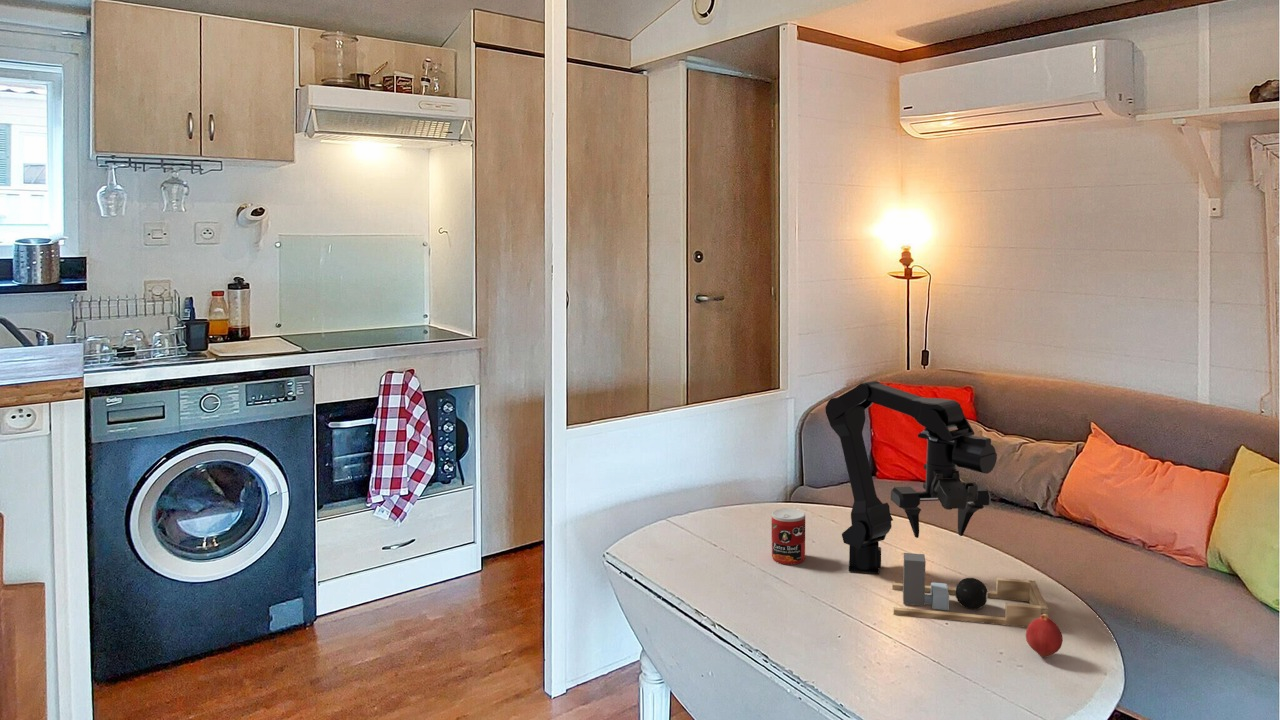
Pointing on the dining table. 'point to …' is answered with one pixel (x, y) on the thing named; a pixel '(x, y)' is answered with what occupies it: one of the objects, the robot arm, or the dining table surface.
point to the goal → (1023, 592)
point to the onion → (1044, 636)
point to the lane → (947, 614)
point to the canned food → (788, 536)
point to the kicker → (921, 584)
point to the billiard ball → (971, 593)
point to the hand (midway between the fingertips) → (938, 536)
